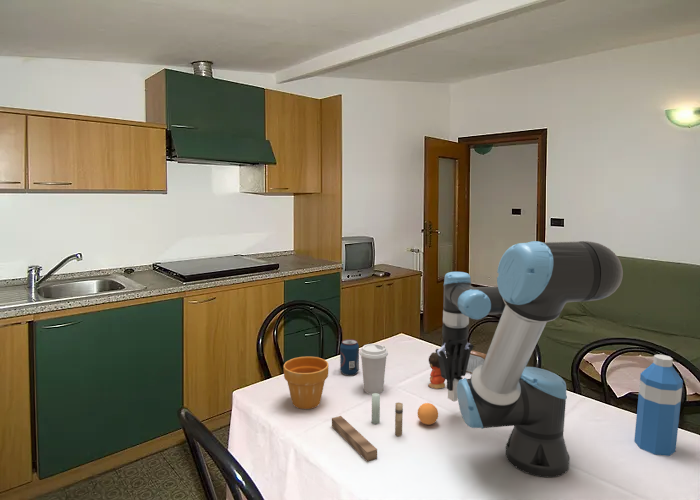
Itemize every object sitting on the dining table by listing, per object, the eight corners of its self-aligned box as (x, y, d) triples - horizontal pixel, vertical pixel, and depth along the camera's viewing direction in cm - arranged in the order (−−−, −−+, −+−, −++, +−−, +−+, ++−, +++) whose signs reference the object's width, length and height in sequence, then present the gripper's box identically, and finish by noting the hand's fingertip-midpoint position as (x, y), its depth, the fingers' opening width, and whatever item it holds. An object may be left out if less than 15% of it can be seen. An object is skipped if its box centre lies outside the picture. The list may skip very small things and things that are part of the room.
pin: (403, 435, 132) (404, 404, 131) (397, 437, 131) (398, 406, 130) (399, 431, 134) (400, 401, 133) (393, 433, 133) (393, 403, 132)
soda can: (338, 369, 178) (338, 339, 177) (356, 368, 180) (356, 337, 178) (342, 377, 172) (342, 345, 170) (361, 375, 173) (361, 343, 172)
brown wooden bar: (377, 458, 121) (377, 449, 121) (367, 461, 120) (367, 452, 119) (340, 423, 138) (340, 415, 138) (331, 426, 137) (331, 418, 137)
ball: (442, 425, 138) (442, 406, 137) (425, 430, 135) (426, 410, 134) (429, 416, 143) (429, 397, 142) (413, 421, 140) (413, 402, 139)
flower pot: (334, 409, 147) (334, 369, 145) (289, 416, 143) (289, 375, 141) (321, 390, 160) (321, 354, 159) (280, 397, 156) (279, 359, 154)
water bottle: (676, 460, 121) (686, 366, 117) (633, 449, 125) (642, 359, 122) (674, 443, 128) (683, 355, 125) (634, 433, 133) (642, 348, 130)
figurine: (448, 385, 165) (449, 352, 163) (442, 391, 160) (443, 357, 159) (431, 381, 168) (432, 348, 167) (425, 386, 164) (426, 353, 162)
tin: (492, 377, 172) (493, 355, 171) (489, 379, 170) (490, 357, 169) (455, 366, 182) (456, 345, 181) (451, 368, 180) (452, 347, 179)
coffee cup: (385, 397, 156) (386, 353, 154) (357, 394, 158) (357, 351, 155) (389, 385, 165) (389, 343, 163) (362, 382, 167) (362, 342, 165)
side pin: (381, 422, 139) (381, 395, 138) (374, 424, 138) (374, 397, 137) (376, 419, 141) (377, 392, 140) (370, 421, 140) (370, 394, 139)
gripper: (463, 317, 146) (460, 389, 149) (430, 324, 139) (427, 398, 143) (481, 324, 139) (477, 399, 143) (446, 331, 133) (443, 409, 137)
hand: (452, 399), depth 143 cm, fingers closed
